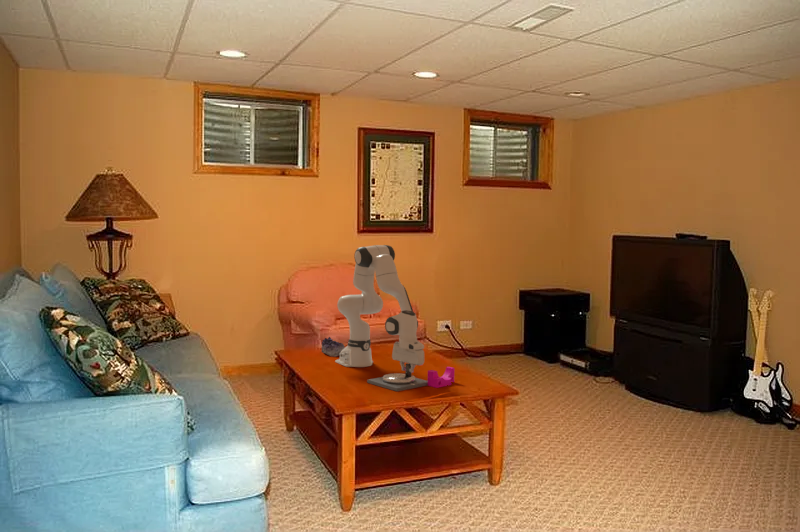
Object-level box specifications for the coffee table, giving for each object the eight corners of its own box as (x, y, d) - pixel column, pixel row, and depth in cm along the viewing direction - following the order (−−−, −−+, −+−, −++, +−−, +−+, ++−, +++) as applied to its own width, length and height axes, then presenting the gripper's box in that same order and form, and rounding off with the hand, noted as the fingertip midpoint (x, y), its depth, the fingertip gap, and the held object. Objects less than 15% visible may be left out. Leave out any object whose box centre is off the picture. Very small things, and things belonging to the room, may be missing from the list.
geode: (314, 353, 396) (314, 336, 396) (331, 351, 403) (331, 335, 402) (330, 359, 380) (330, 342, 379) (347, 357, 386) (348, 340, 386)
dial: (393, 385, 311) (393, 369, 311) (376, 378, 325) (376, 363, 324) (421, 381, 320) (421, 366, 319) (404, 375, 333) (404, 360, 333)
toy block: (436, 388, 315) (437, 372, 315) (427, 385, 320) (427, 370, 320) (457, 383, 326) (458, 368, 325) (448, 381, 330) (448, 366, 330)
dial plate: (367, 382, 323) (367, 379, 323) (400, 376, 338) (400, 373, 338) (396, 391, 307) (397, 387, 307) (430, 384, 321) (430, 381, 321)
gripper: (389, 341, 330) (389, 368, 331) (417, 347, 315) (416, 375, 316) (398, 340, 334) (398, 367, 335) (426, 345, 319) (426, 374, 320)
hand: (407, 371), depth 325 cm, fingers open, 4 cm apart
